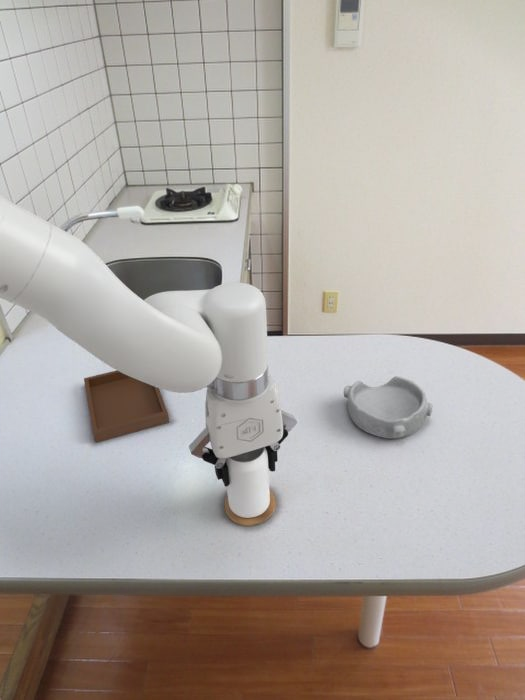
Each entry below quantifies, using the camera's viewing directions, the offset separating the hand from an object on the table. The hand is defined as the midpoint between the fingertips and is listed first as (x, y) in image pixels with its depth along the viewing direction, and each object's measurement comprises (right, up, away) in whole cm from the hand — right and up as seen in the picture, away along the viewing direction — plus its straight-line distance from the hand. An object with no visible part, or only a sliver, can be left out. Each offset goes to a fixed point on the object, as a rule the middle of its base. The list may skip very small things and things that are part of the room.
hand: (247, 471), depth 78 cm
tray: (-25, +7, +26) cm, 36 cm away
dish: (+25, +5, +20) cm, 33 cm away
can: (0, -6, +4) cm, 7 cm away
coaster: (0, -6, +4) cm, 8 cm away
